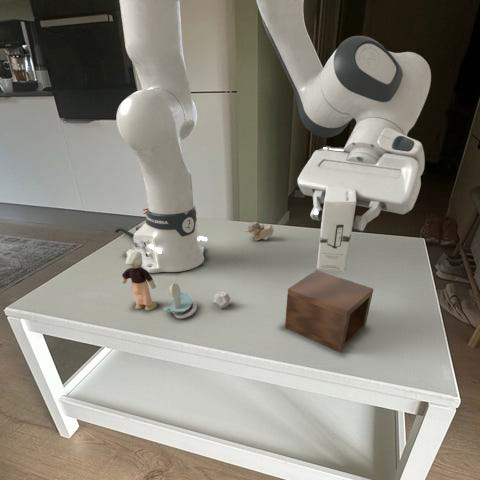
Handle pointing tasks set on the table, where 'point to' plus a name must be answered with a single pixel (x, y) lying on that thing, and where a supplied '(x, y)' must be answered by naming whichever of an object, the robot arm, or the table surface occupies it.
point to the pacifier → (180, 302)
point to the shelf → (328, 309)
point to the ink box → (336, 228)
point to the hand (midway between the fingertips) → (335, 223)
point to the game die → (221, 299)
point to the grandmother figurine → (139, 281)
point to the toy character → (260, 231)
